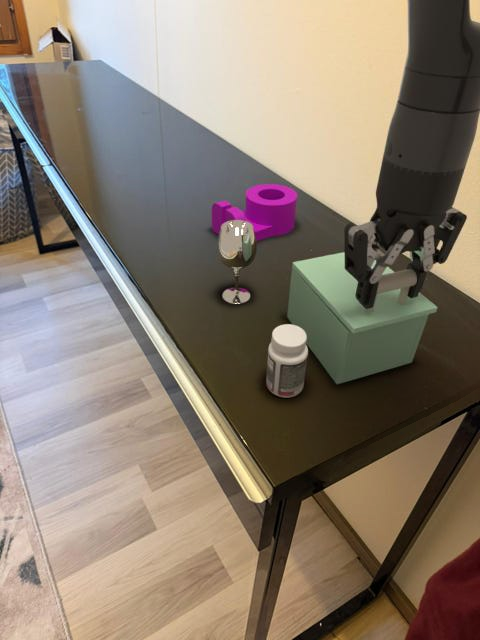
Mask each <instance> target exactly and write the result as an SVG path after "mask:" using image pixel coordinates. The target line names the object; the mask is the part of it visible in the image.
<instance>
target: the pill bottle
mask: <svg viewBox="0 0 480 640" xmlns="http://www.w3.org/2000/svg"><path fill="white" fill-rule="evenodd" d="M306 340H307V335H306V333H305V331H304V330H303V329H302V328H300V327H298V326H296V325H293V324H292V323H291V324H290V323H285V324H280V325H278V326H276V327H274V329H273V330H272V333H271V339H270V343H269V345H268V348H267V364H266V380H265V385H266V387H267V389H268V391H269V392H271V394H273V395H274V396H277V397H279V398H282V399H283V398H284V399H286V398H288V399H289V398H293V397H296V396H297V395H299V394H300V393H301V392H302V391H303V389H304V385H305V380H306V379H305V378H306V371H307V363H308V357H309V349H308V348H309V347H308V345H307V343H306Z"/></svg>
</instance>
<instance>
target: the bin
mask: <svg viewBox="0 0 480 640" xmlns="http://www.w3.org/2000/svg"><path fill="white" fill-rule="evenodd" d="M289 284H290V285H289V295H288V304H287V315H286V318H287V319H288V320H289V323H291V325H296V326H298V327H300V328H302V329H303V330H304V331H305V333H306V335H307V340H306V345H307V347H308V348H309V349H310V350H311V352H312V353H313V354H314V356H315V357H316V359H317V360H318V361H319V362H320V364H321V365H322V367H323V368H324V369H325V371H326V372H327V374H328V375H329V376H330V377H331V379H332V380H333V382H334V383H335V384H336V385H340V384H344V383H347V382H351V381H353V380H357V379H360V378H364V377H367V376H371V375H375V374H377V373H382V372H384V371H388V370H390V369H391V370H392V369H394V368H395V369H396V368H399V367H401V366H405V365H408V364H411V363H413V361H414V358H415V355H416V353H417V349H418V346H419V344H420V341H421V338H422V336H423V332H424V330H425V327H426V324H427V321H428V318H429V315H430V314H428V315H424V316H420V317H416V318H412V319H408V320H404V321H400V322H397V323H393V324H389V325H385V326H381V327H377V328H373V329H370V330H366V331H362V332H358V333H354V334H353V333H352V332H351V331H350V330H349V329H348V328H347V327H346V326H345V324H344V323H343V322H342V321H341V320H340V319H339V318H338V317H337V316H336V315H335V313H334V312H333V311H332V310H331V309H330V308H329V307H328V306H327V305H326V304H325V302H324V301H323V300H322V299H321V298H320V297H319V296H318V295H317V294H316V293H315V291H314V290H313V289H312V288H311V287H310V286H309V285H308V284H307V283H306V282H305V280H304V279H303V278H302V277H301V276H300V275H299V274H298V273H297V272H296V270H295V269H294V268H293V267H291V274H290V283H289Z"/></svg>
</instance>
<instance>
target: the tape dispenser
mask: <svg viewBox="0 0 480 640" xmlns="http://www.w3.org/2000/svg"><path fill="white" fill-rule="evenodd" d="M297 201H298V193H297V192H296V191H295V190H294V189H293V188H291V187H288V186H285V185H281V184H276V183H275V184H274V183H264V184H257V185H254V186H252V187H250V188H248V189H247V190H246V192H245V208H244V209H245V210H241V209H239V208H238V207H236V206H233V207H232V203H230V202H229V201H227V200H221V201H217V202H214V203H213V204H212V205H211V231H213V233H215V234H216V235H217V236H219V233H220V229H221V226H222V224H223V223H225V222H227V221H231V220H243V221H247V222H249V223H251V224H252V225H253V227H254V231H255V236H256V242H259V241H261V240H264V239H267V238H270V237H276V236H282V235H286V234H288V233H290V232H292V231H293V230H294V228H295V223H296V212H297Z"/></svg>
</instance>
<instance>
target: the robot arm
mask: <svg viewBox="0 0 480 640" xmlns="http://www.w3.org/2000/svg"><path fill="white" fill-rule="evenodd" d="M470 4H471V2H470V0H407V53H406V59H405V63H404V67H403V73H402V76H401V82H400V86H399V91H398V96H397V101H396V105H395V108H394V111H393V115H392V117H391V120H390V123H389V127H388V130H387V135H386V141H385V145H384V150H383V155H382V159H381V163H380V164H381V166H380V170H379V175H378V180H377V183H376V188H375V199H376V208H375V211H374V212H373V214H372V216H370V219H369V221H368V222H365V223H361V224H359V225H356V224H355V223H354V222H349V223H347V224H346V225H345V227H344V229H343V230H344V252H345V270H346V271H347V272H348V273H349V274H351V275H352V276H353V277H354V278H355V279H356V280H357V281H358V285H357V289H356V294H355V297H356V299H357V300H358V301H359V303H360V304H361V305H362V306H363V307H364V308H365V309H369V308H373V306H374V302H375V298H376V293H377V289H378V285H379V282H378V280H379V279H380V277H381V275H382V274H383V272H384V270H385V269H386V267H389V268H391V267H392V266H393V265H394V263H395V262H396V260H397V258H398V257H399V255H402V254H404V253H406V252H409V258H410V261H411V262H410V263H407V267H406V269H405V270H407V269H412V270H414V271H415V273H416V275H417V282H416V284H415V285H414V286H410V288H409V292H408V297H409V298H415V297H417V296H418V294H419V293H421V291H422V289H423V286H424V283H425V281H426V277H427V274H428V272H429V271H431V270H432V269H433V267H434V265H436V264H439V265H443V264H444V263H446V261H447V260H448V258H449V256H450V254H451V252H452V250H453V248H454V246H455V244H456V241H457V240H458V239H459V238H458V237H459V235H460V233H461V231H462V230H463V227H464V226H465V223H466V221H467V219H468V216H467V214H465V213H464V212H462V210H461V211H460V210H459V209H457V208H456V207H453V206H454V204H455V201H456V198H457V195H458V192H459V188H460V186H461V183H462V179H463V176H464V173H465V169H466V167H467V163H468V160H469V157H470V154H471V151H472V148H473V145H474V142H475V139H476V134H477V129H478V124H479V118H480V22H478V21H476V20H475V21H474V20H473V19H472V18H471V7H470V6H471V5H470ZM440 242H442V244H441V246H440V248H438V246H439V244H440ZM380 247H381V248H382V250H385V251H386V252H385V253H383V252H382V251H381V250H380ZM375 260H376V264H375V266H374V268H373V269H372V268H371V266H372V264H373V262H374V261H375Z"/></svg>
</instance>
